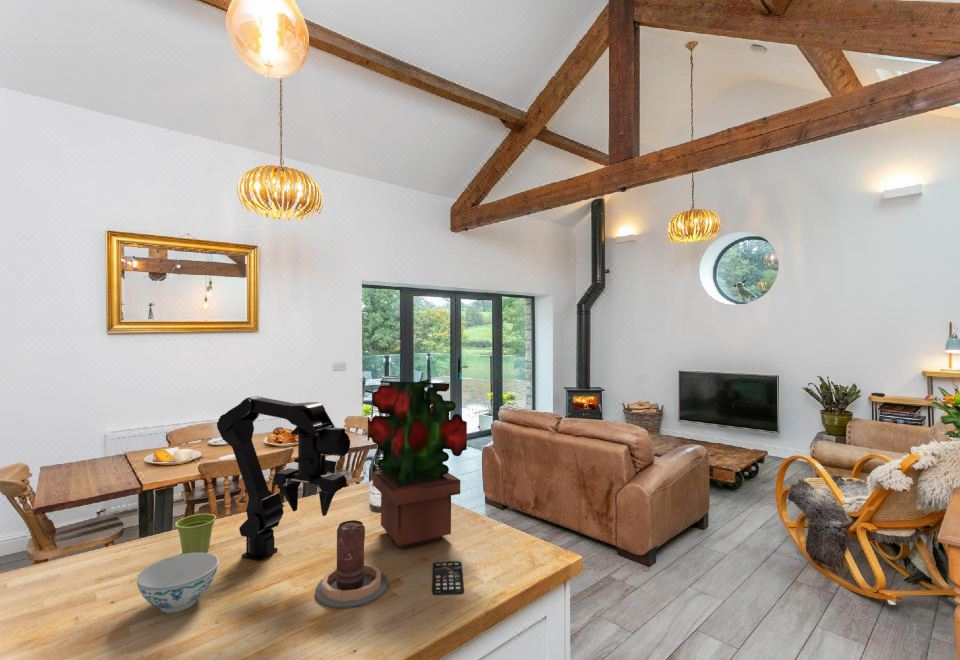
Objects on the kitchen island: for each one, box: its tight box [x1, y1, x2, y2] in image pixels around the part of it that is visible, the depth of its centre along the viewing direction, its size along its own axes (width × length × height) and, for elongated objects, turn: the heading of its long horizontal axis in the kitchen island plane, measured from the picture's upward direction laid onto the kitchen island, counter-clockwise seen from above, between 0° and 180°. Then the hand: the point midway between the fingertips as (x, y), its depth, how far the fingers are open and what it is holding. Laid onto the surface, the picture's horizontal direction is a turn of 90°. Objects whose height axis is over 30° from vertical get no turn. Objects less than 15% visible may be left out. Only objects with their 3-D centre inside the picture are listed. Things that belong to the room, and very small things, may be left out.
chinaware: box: [136, 552, 219, 614], centre depth 103 cm, size 15×15×8 cm
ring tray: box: [315, 562, 388, 609], centre depth 109 cm, size 16×16×3 cm
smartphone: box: [431, 560, 465, 596], centre depth 114 cm, size 7×1×15 cm
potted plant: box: [367, 378, 468, 550], centre depth 137 cm, size 22×22×45 cm
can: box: [336, 519, 366, 590], centre depth 109 cm, size 6×6×14 cm
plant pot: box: [174, 513, 217, 554], centre depth 126 cm, size 9×9×9 cm
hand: (309, 513), depth 120 cm, fingers open, 9 cm apart
